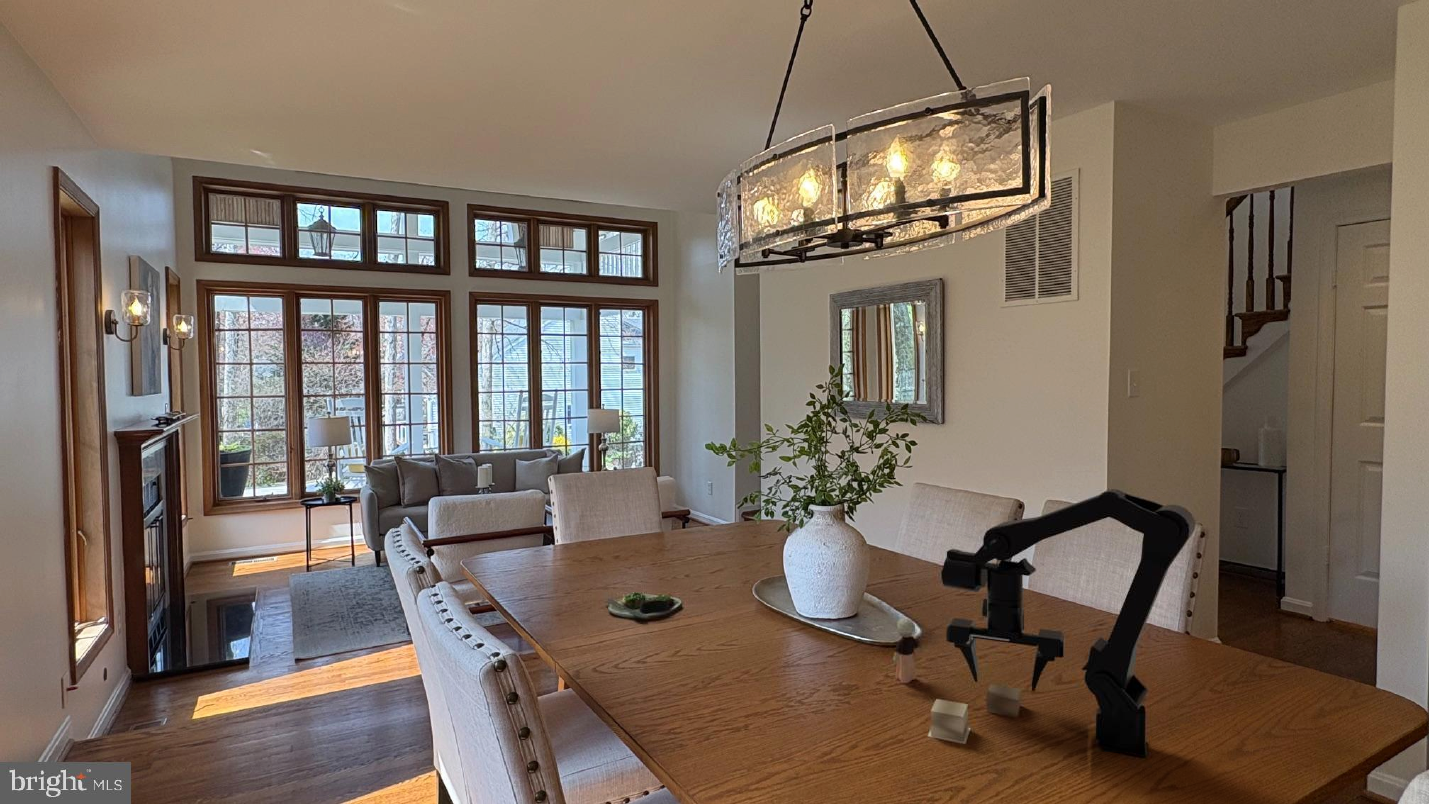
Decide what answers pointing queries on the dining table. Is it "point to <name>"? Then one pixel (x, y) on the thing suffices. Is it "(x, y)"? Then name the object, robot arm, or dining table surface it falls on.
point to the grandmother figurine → (906, 651)
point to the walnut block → (1003, 700)
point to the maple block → (949, 720)
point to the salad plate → (644, 606)
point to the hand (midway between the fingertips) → (1004, 685)
